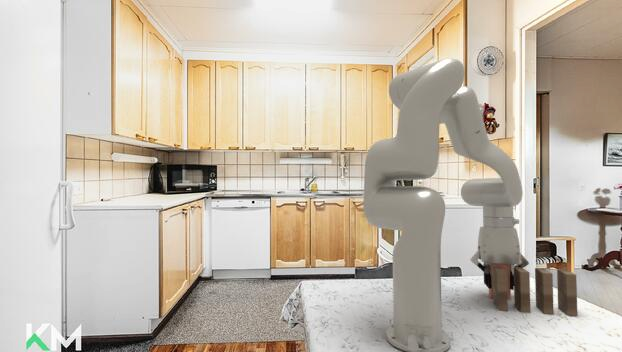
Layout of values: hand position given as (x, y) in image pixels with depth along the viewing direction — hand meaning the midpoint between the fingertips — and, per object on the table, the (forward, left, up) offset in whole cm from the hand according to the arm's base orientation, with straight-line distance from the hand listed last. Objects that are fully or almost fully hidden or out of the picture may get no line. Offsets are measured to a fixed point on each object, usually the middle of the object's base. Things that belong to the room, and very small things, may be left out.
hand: (499, 287), depth 94 cm
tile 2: (-8, -8, -3) cm, 12 cm away
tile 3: (-8, -3, -3) cm, 9 cm away
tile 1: (-8, -13, -3) cm, 16 cm away
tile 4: (-8, +2, -3) cm, 9 cm away
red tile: (0, 0, -3) cm, 3 cm away
